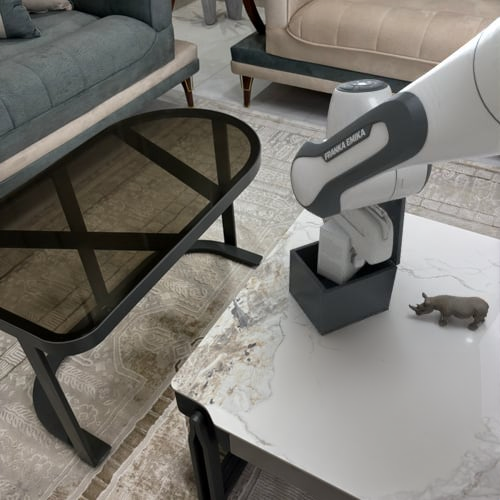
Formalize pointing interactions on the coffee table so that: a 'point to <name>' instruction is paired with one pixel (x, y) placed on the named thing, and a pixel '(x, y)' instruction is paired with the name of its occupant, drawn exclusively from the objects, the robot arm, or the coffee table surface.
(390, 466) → the coffee table surface
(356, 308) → the bin
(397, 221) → the bin lid
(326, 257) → the small box
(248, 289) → the coffee table surface
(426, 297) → the rhino figurine
